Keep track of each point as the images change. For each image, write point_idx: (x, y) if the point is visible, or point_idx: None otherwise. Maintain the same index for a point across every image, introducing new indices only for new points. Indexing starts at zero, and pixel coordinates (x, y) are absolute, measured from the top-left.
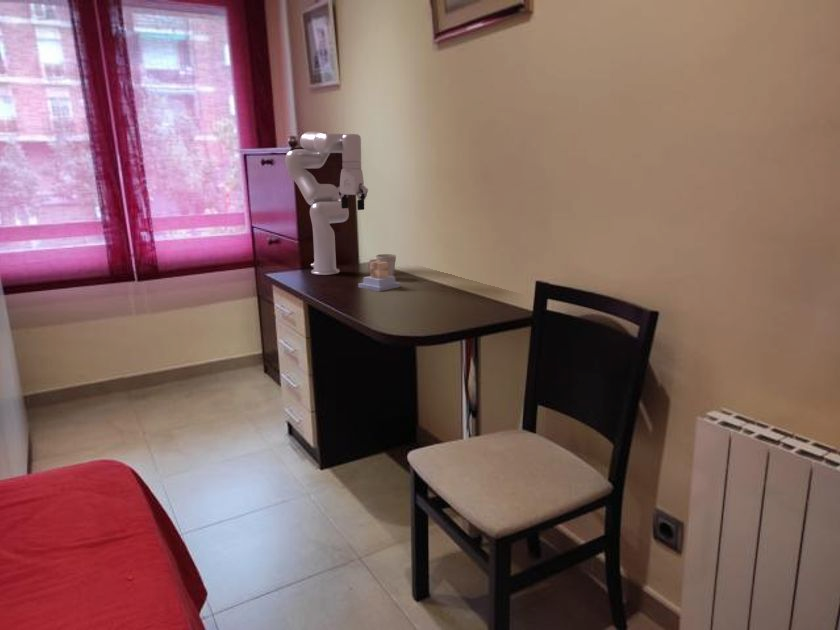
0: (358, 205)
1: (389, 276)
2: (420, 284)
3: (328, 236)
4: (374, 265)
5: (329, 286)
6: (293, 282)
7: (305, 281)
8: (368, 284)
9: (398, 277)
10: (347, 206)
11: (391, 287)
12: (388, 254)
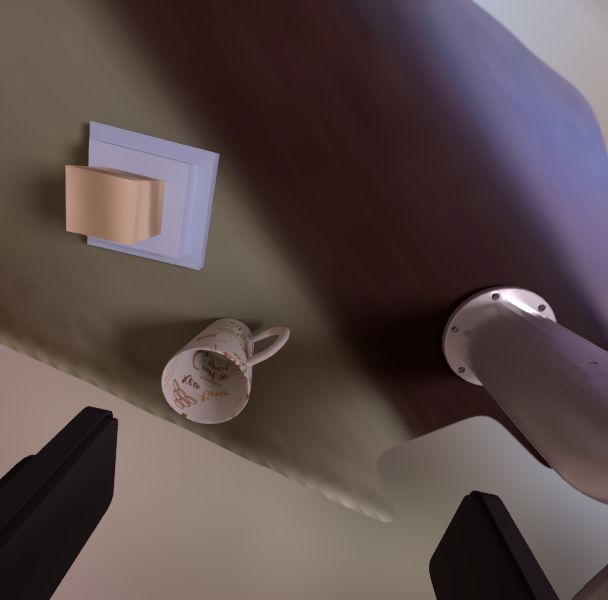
0: (33, 461)
1: None
2: (69, 307)
3: (566, 411)
4: (107, 173)
5: (332, 108)
6: (525, 103)
7: (484, 150)
8: (167, 156)
9: None
10: (440, 580)
11: None
12: (220, 421)
